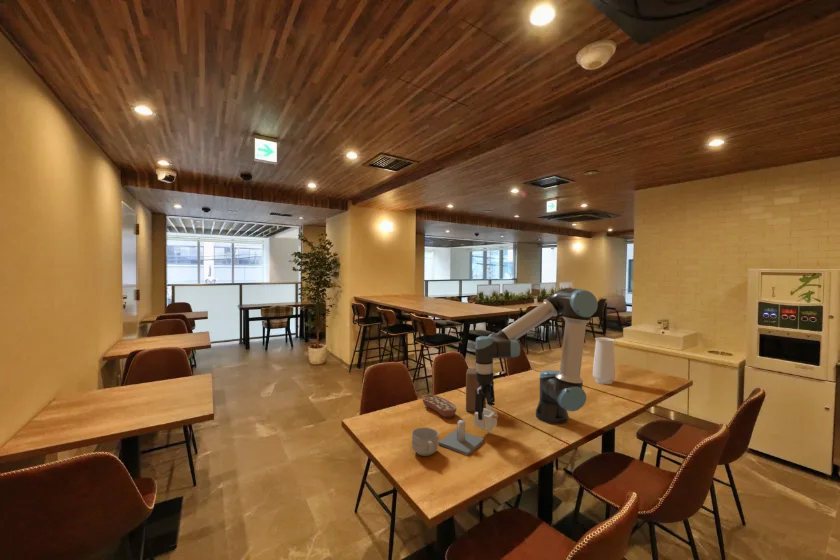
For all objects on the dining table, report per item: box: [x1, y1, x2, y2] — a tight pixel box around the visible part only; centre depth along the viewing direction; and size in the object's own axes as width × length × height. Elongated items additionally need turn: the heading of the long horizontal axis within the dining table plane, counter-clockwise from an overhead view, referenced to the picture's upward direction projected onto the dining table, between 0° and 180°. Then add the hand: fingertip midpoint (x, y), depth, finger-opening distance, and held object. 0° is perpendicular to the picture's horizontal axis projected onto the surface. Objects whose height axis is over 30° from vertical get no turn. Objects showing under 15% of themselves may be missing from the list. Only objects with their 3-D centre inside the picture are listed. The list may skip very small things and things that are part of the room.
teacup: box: [411, 426, 440, 457], centre depth 138 cm, size 14×11×8 cm
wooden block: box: [465, 368, 487, 413], centre depth 183 cm, size 10×10×20 cm
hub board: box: [438, 419, 485, 456], centre depth 147 cm, size 14×14×9 cm
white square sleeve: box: [473, 408, 499, 432], centre depth 154 cm, size 9×7×6 cm
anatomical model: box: [422, 394, 457, 418], centre depth 180 cm, size 23×10×5 cm, turn 34°
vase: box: [592, 336, 616, 385], centre depth 226 cm, size 13×13×28 cm
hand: (485, 422), depth 155 cm, fingers closed on white square sleeve, 7 cm apart
